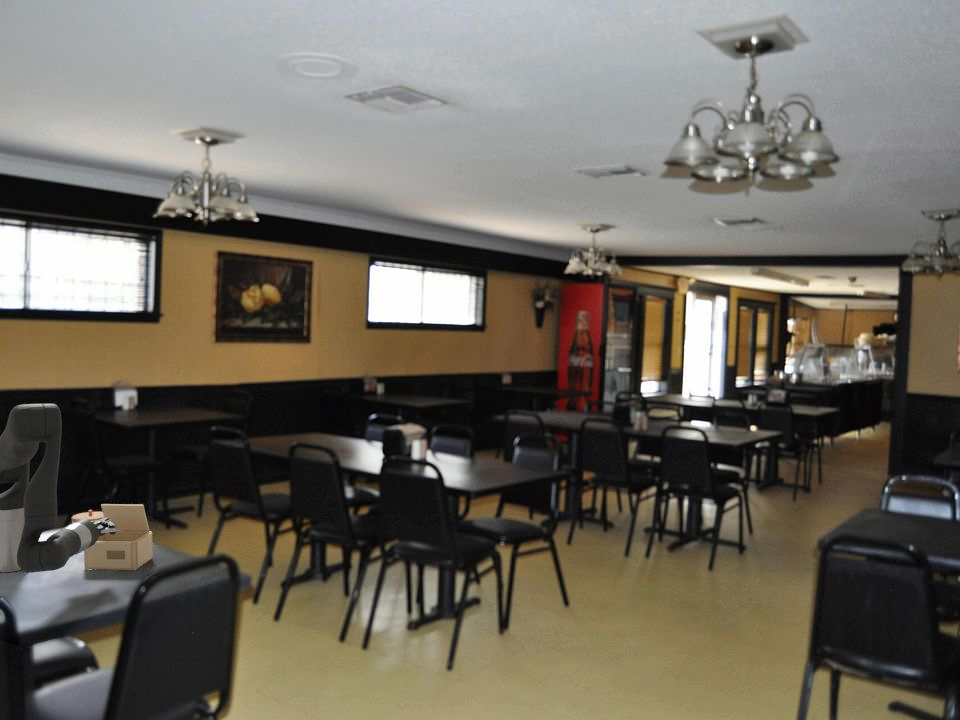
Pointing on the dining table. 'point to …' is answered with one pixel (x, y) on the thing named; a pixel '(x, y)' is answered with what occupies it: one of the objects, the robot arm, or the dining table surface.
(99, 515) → the lidded jar
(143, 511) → the flap
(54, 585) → the dining table surface
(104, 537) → the carton
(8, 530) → the robot arm
